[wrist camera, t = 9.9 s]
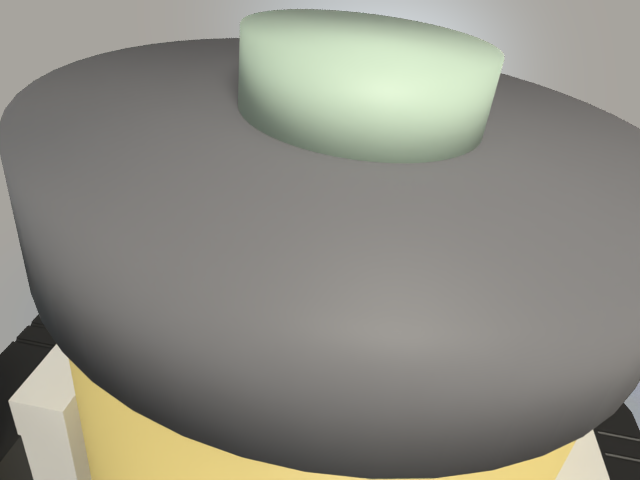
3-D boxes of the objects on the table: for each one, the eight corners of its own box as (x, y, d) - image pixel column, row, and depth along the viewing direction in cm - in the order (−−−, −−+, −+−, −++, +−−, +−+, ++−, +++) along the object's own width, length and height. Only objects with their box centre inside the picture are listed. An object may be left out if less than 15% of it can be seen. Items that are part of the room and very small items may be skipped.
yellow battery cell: (49, 705, 11) (-230, 2, 4) (247, 459, 16) (273, -30, 9) (348, 988, 8) (966, 420, 2) (467, 589, 14) (728, 54, 7)
